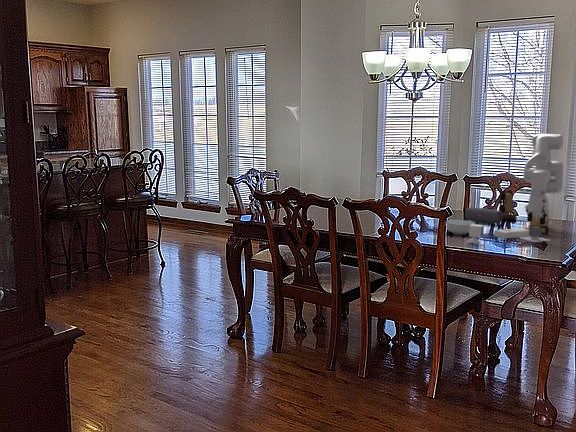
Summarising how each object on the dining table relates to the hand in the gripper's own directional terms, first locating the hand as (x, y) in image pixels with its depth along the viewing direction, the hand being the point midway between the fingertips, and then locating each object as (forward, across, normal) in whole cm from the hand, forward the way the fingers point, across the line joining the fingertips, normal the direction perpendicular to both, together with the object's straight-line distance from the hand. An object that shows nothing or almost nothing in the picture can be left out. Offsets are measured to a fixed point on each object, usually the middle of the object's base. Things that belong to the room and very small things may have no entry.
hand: (535, 222), depth 337 cm
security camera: (+9, +3, +39) cm, 40 cm away
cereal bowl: (+10, +30, +29) cm, 43 cm away
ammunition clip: (+10, +13, -15) cm, 23 cm away
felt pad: (+10, -1, +1) cm, 10 cm away
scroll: (+12, +63, -33) cm, 73 cm away
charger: (+9, 0, +1) cm, 9 cm away
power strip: (+10, +12, +3) cm, 16 cm away
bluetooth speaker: (+11, +56, -9) cm, 58 cm away
